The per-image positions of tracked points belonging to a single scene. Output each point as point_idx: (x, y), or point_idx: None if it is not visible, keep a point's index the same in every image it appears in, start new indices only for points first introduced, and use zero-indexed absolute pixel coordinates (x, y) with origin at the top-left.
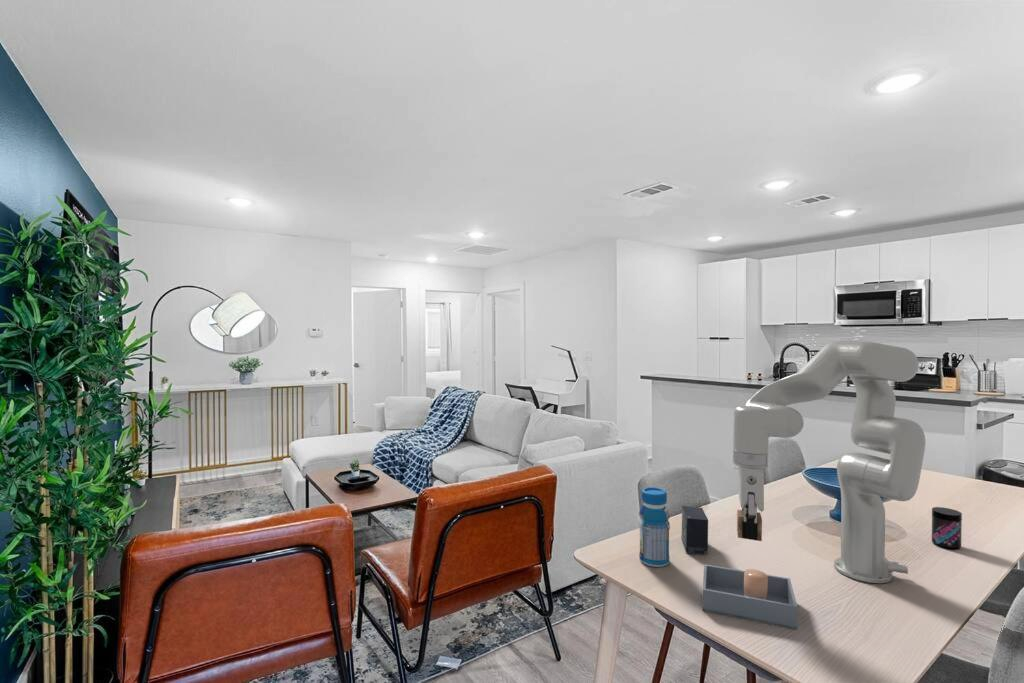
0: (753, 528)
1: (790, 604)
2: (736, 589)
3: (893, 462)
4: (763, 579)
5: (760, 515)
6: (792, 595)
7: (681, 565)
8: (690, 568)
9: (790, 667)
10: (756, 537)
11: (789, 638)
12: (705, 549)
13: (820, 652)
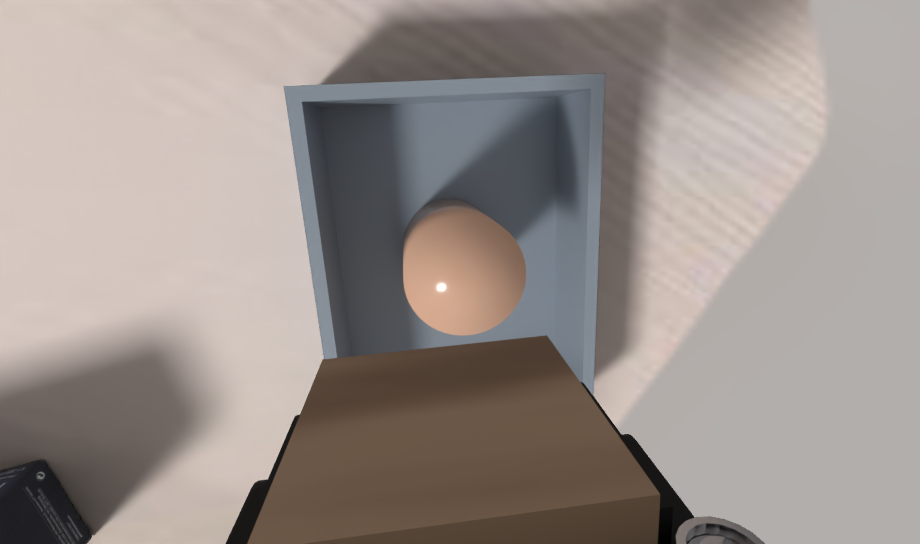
0: (677, 497)
1: (593, 106)
2: (355, 317)
3: None
4: (508, 238)
5: (424, 533)
6: (494, 88)
7: None
8: (242, 493)
9: (800, 129)
10: (592, 398)
11: (634, 121)
12: (29, 485)
13: (691, 14)
